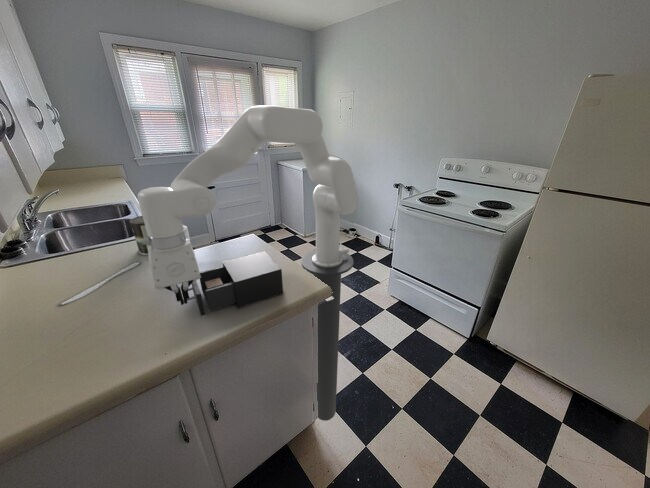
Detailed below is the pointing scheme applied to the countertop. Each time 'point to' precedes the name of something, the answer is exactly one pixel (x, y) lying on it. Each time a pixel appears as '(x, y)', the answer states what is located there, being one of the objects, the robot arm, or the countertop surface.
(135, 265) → the butter knife
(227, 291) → the drawer
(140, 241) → the coffee can
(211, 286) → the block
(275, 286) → the cabinet
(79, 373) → the countertop surface
